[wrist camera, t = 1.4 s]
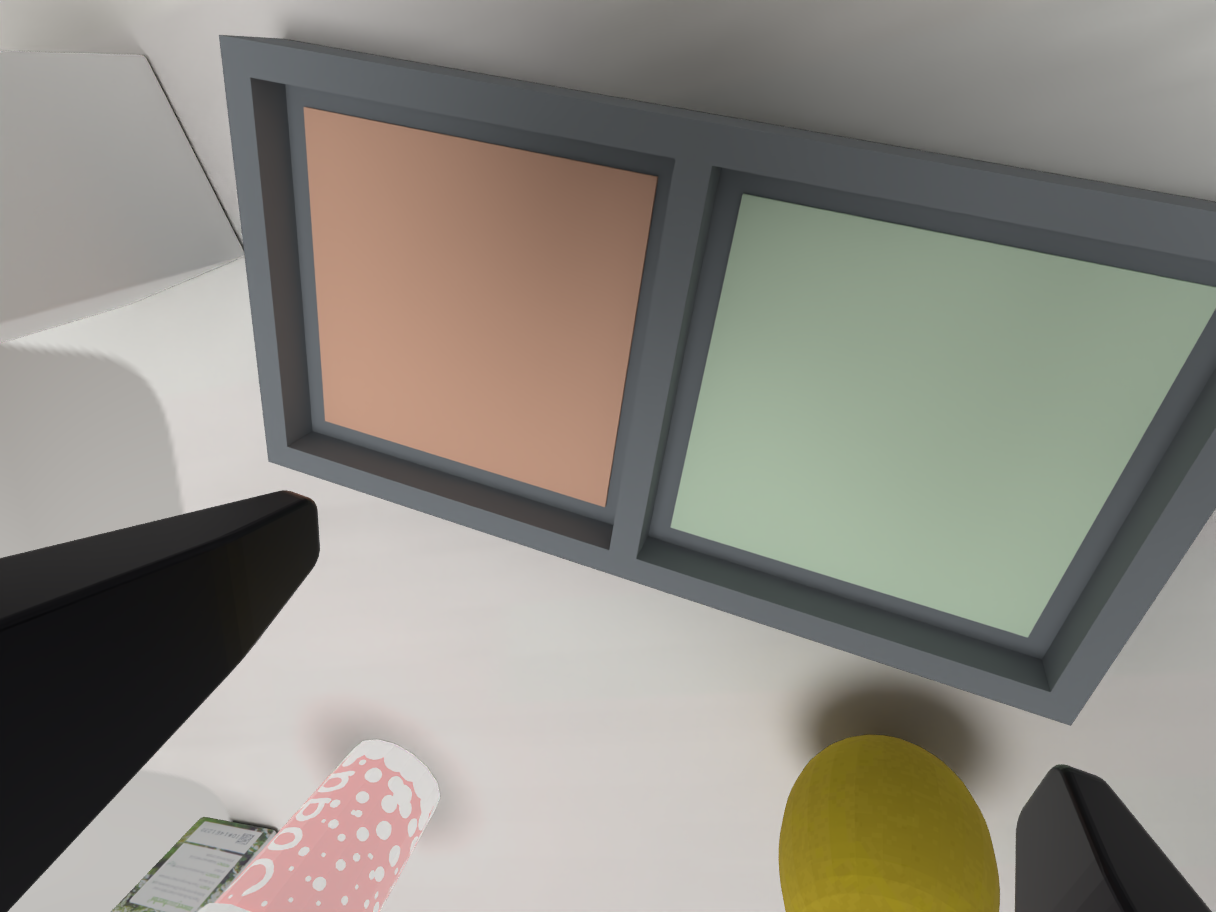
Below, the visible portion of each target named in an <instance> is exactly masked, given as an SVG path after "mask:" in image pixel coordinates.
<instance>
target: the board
mask: <svg viewBox="0 0 1216 912" xmlns="http://www.w3.org/2000/svg"><path fill="white" fill-rule="evenodd" d="M219 39H220V48H221V57H222V65H223V74H224V83H225V91H226V100H227V108H228V117H229V126H230V134H231V143H232V151H233V160H234V169H235V177H236V186H237V194H238V203H239V212H240V220H241V229H242V238H243V246H244V255H245V263H246V272H247V281H248V289H249V298H250V306H251V315H252V324H253V332H254V341H255V349H256V358H257V367H258V375H259V384H260V393H261V401H262V410H263V418H264V427H265V436H266V444H267V453H268V461H269V462H272V463H275V464H278V465H281V466H284V467H287V468H290V469H293V470H296V471H299V472H302V473H305V474H308V475H311V476H314V477H317V478H320V479H323V480H326V481H329V482H332V483H335V484H339V485H342V486H345V487H348V488H351V489H354V490H357V491H360V492H363V493H366V494H369V495H372V496H375V497H378V498H381V499H384V500H387V501H390V502H393V503H396V504H399V505H402V506H405V507H408V508H411V509H414V510H417V511H420V512H424V513H427V514H430V515H433V516H436V517H439V518H442V519H445V520H448V521H451V522H454V523H457V524H460V525H463V526H466V527H469V528H472V529H475V530H478V531H481V532H484V533H487V534H490V535H493V536H496V537H499V538H502V539H506V540H509V541H512V542H515V543H518V544H521V545H524V546H527V547H530V548H533V549H536V550H539V551H542V552H545V553H548V554H551V555H554V556H557V557H560V558H563V559H566V560H569V561H572V562H575V563H578V564H581V565H584V566H587V567H591V568H594V569H597V570H600V571H603V572H606V573H609V574H612V575H615V576H618V577H621V578H624V579H627V580H630V581H633V582H636V583H639V584H642V585H645V586H648V587H651V588H654V589H657V590H660V591H663V592H666V593H669V594H673V595H676V596H679V597H682V598H685V599H688V600H691V601H694V602H697V603H700V604H703V605H706V606H709V607H712V608H715V609H718V610H721V611H724V612H727V613H730V614H733V615H736V616H739V617H742V618H745V619H748V620H751V621H754V622H758V623H761V624H764V625H767V626H770V627H773V628H776V629H779V630H782V631H785V632H788V633H791V634H794V635H797V636H800V637H803V638H806V639H809V640H812V641H815V642H818V643H821V644H824V645H827V646H830V647H833V648H836V649H840V650H843V651H846V652H849V653H852V654H855V655H858V656H861V657H864V658H867V659H870V660H873V661H876V662H879V663H882V664H885V665H888V666H891V667H894V668H897V669H900V670H903V671H906V672H909V673H912V674H915V675H918V676H921V677H925V678H928V679H931V680H934V681H937V682H940V683H943V684H946V685H949V686H952V687H955V688H958V689H961V690H964V691H967V692H970V693H973V694H976V695H979V696H982V697H985V698H988V699H991V700H994V701H997V702H1000V703H1003V704H1006V705H1010V706H1013V707H1016V708H1019V709H1022V710H1025V711H1028V712H1031V713H1034V714H1037V715H1040V716H1043V717H1046V718H1049V719H1052V720H1055V721H1058V722H1061V723H1064V724H1067V725H1070V726H1071V725H1072V723H1073V722H1074V720H1075V719H1076V717H1077V716H1078V714H1079V713H1080V711H1081V710H1082V708H1083V707H1084V705H1085V704H1086V702H1087V701H1088V699H1089V698H1090V696H1091V695H1092V693H1093V692H1094V690H1095V689H1096V687H1097V686H1098V684H1099V683H1100V681H1101V680H1102V678H1103V677H1104V675H1105V674H1106V672H1107V671H1108V669H1109V668H1110V666H1111V665H1112V663H1113V662H1114V660H1115V659H1116V657H1117V656H1118V654H1119V653H1120V651H1121V650H1122V648H1123V647H1124V645H1125V644H1126V642H1127V641H1128V639H1129V638H1130V636H1131V635H1132V633H1133V632H1134V630H1135V629H1136V627H1137V626H1138V624H1139V623H1140V621H1141V620H1142V618H1143V617H1144V615H1145V614H1146V612H1147V611H1148V609H1149V608H1150V606H1151V605H1152V603H1153V602H1154V600H1155V599H1156V597H1157V596H1158V594H1159V593H1160V591H1161V590H1162V588H1163V587H1164V585H1165V584H1166V582H1167V581H1168V579H1169V578H1170V576H1171V575H1172V573H1173V572H1174V570H1175V568H1176V567H1177V565H1178V564H1179V562H1180V561H1181V559H1182V558H1183V556H1184V555H1185V553H1186V552H1187V550H1188V549H1189V547H1190V546H1191V544H1192V543H1193V541H1194V540H1195V538H1196V537H1197V535H1198V534H1199V532H1200V531H1201V529H1202V528H1203V526H1204V525H1205V523H1206V522H1207V520H1208V519H1209V517H1210V516H1211V514H1212V513H1213V511H1214V510H1215V508H1216V202H1213V201H1207V200H1201V199H1195V198H1190V197H1184V196H1178V195H1173V194H1167V193H1161V192H1155V191H1150V190H1144V189H1138V188H1133V187H1127V186H1121V185H1115V184H1110V183H1104V182H1098V181H1093V180H1087V179H1081V178H1075V177H1070V176H1064V175H1058V174H1053V173H1047V172H1041V171H1035V170H1030V169H1024V168H1018V167H1013V166H1007V165H1001V164H995V163H990V162H984V161H978V160H973V159H967V158H961V157H955V156H950V155H944V154H938V153H933V152H927V151H921V150H915V149H910V148H904V147H898V146H893V145H887V144H881V143H875V142H870V141H864V140H858V139H853V138H847V137H841V136H835V135H830V134H824V133H818V132H812V131H807V130H801V129H795V128H790V127H784V126H778V125H772V124H767V123H761V122H755V121H750V120H744V119H738V118H732V117H727V116H721V115H715V114H710V113H704V112H698V111H692V110H687V109H681V108H675V107H670V106H664V105H658V104H652V103H647V102H641V101H635V100H630V99H624V98H618V97H612V96H607V95H601V94H595V93H590V92H584V91H578V90H572V89H567V88H561V87H555V86H550V85H544V84H538V83H532V82H527V81H521V80H515V79H510V78H504V77H498V76H492V75H487V74H481V73H475V72H469V71H464V70H458V69H452V68H447V67H441V66H435V65H429V64H424V63H418V62H412V61H407V60H401V59H395V58H389V57H384V56H378V55H372V54H367V53H361V52H355V51H349V50H344V49H338V48H332V47H327V46H321V45H315V44H309V43H304V42H298V41H292V40H287V39H277V38H261V37H244V36H228V35H219Z"/></svg>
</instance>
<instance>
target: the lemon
mask: <svg viewBox="0 0 1216 912" xmlns="http://www.w3.org/2000/svg"><path fill="white" fill-rule="evenodd" d="M779 873H780V881H781V888H782V894H783V900H784V905H785V910H786V912H999V905H1000V887H999V875H998V869H997V863H996V859H995V854H994V849H993V845H992V841H991V837H990V833H989V830H988V827H987V824H986V822H985V819H984V817H983V815H982V813H981V811H980V809H979V807H978V805H977V804H976V802H975V801H974V799H973V797H972V796H971V794H970V792H969V791H968V789H967V788H966V786H965V785H964V783H963V782H962V781H961V780H960V779H959V777H958V776H957V775H956V774H955V773H954V772H953V771H952V770H951V769H950V768H949V767H948V766H947V765H946V764H945V763H944V762H942V761H941V760H940V759H939V758H937V757H936V756H934V755H933V754H931V753H930V752H928V751H926V750H925V749H923V748H922V747H920V746H917V745H915V744H912V743H910V742H907V741H905V740H902V739H900V738H895V737H890V736H886V735H869V734H868V735H861V736H855V737H849V738H846V739H843V740H841V741H838V742H836V743H833V744H831V745H830V746H828V747H827V748H825V749H824V750H822V751H821V752H820V753H818V754H817V755H816V756H815V757H814V758H812V759H811V760H810V761H809V763H808V764H807V765H806V767H805V768H804V769H803V771H802V772H801V774H800V775H799V777H798V778H797V780H796V782H795V784H794V786H793V787H792V789H791V792H790V795H789V797H788V800H787V804H786V807H785V812H784V817H783V822H782V827H781V832H780V840H779Z"/></svg>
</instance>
